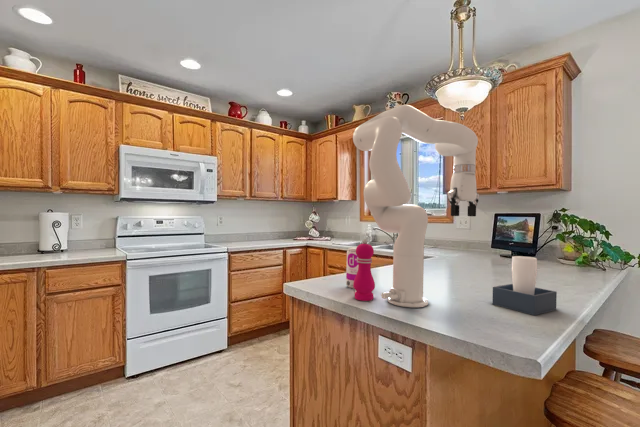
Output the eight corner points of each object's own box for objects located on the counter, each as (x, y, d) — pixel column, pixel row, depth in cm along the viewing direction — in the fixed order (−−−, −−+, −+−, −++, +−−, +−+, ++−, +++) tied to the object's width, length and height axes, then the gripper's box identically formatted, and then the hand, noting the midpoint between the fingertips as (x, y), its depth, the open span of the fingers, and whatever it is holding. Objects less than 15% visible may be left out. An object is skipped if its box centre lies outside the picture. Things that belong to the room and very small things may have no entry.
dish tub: (534, 315, 91) (535, 296, 91) (492, 304, 102) (492, 286, 102) (556, 309, 97) (556, 291, 97) (514, 299, 108) (514, 283, 108)
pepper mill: (360, 302, 101) (361, 240, 101) (349, 296, 108) (350, 238, 108) (379, 300, 104) (380, 239, 104) (367, 294, 110) (368, 237, 110)
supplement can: (361, 290, 117) (362, 249, 117) (342, 287, 121) (343, 248, 121) (370, 286, 124) (371, 248, 124) (352, 283, 128) (352, 246, 128)
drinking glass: (540, 308, 95) (541, 259, 95) (516, 307, 97) (516, 258, 97) (530, 302, 102) (531, 256, 102) (507, 301, 103) (508, 255, 103)
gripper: (469, 173, 126) (469, 216, 126) (440, 169, 117) (439, 215, 117) (487, 171, 119) (487, 216, 119) (458, 167, 111) (457, 216, 111)
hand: (463, 216), depth 118 cm, fingers open, 9 cm apart
